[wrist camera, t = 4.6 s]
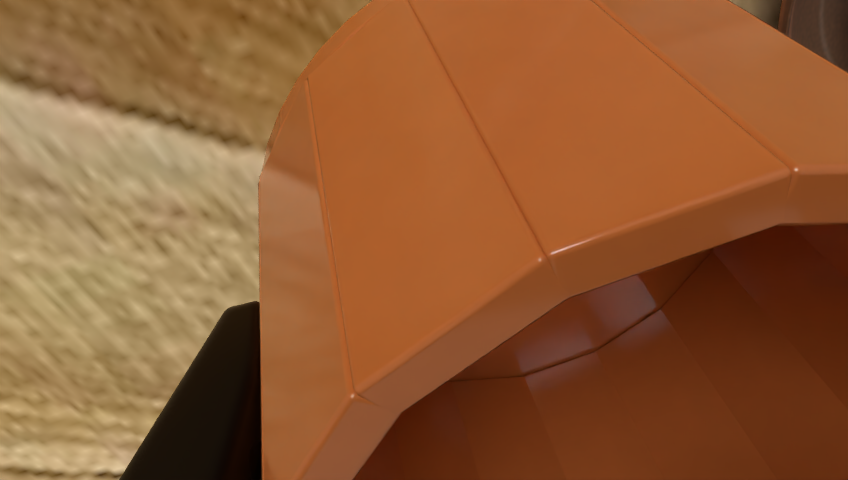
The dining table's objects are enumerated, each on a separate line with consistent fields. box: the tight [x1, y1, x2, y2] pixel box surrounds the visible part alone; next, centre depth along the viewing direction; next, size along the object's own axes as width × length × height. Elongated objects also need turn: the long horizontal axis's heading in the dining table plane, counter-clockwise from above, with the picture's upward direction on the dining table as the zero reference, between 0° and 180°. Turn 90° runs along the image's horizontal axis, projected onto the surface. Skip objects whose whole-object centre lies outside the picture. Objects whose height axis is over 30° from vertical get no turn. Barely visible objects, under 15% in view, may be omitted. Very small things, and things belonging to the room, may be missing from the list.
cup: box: [258, 0, 848, 480], centre depth 8 cm, size 7×7×5 cm
